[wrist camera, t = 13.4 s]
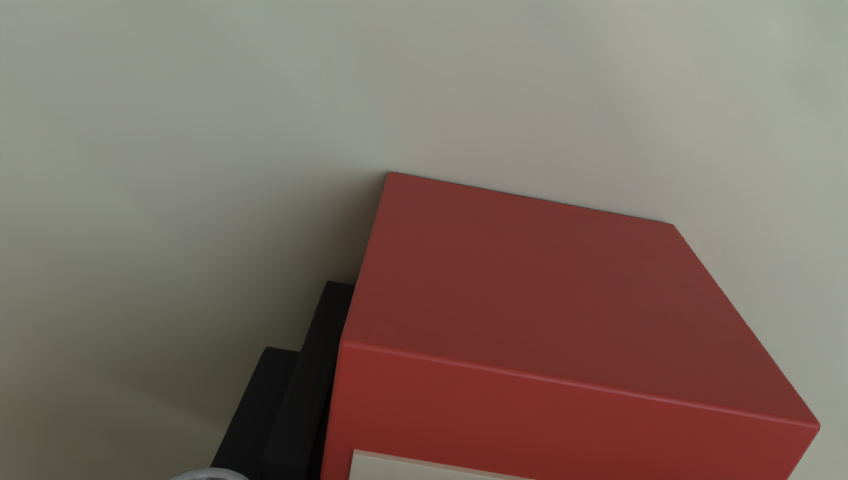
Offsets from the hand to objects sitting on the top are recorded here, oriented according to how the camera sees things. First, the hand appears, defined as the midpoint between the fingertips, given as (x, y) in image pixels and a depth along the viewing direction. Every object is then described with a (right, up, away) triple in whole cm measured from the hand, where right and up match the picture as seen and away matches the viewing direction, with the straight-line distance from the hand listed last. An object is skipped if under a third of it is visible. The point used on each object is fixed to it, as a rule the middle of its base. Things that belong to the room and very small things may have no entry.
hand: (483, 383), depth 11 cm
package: (0, 0, 0) cm, 0 cm away
